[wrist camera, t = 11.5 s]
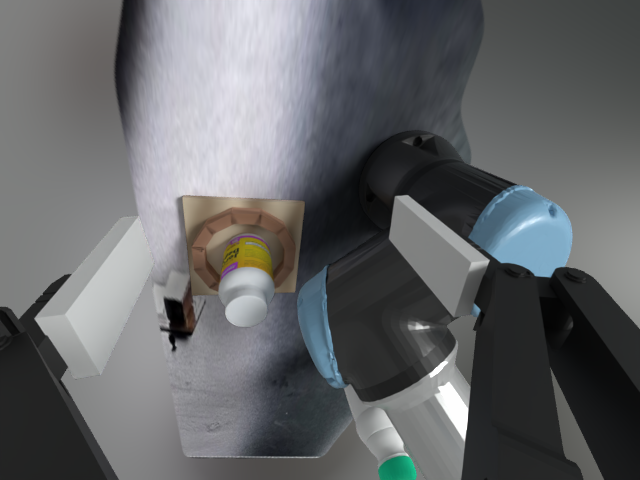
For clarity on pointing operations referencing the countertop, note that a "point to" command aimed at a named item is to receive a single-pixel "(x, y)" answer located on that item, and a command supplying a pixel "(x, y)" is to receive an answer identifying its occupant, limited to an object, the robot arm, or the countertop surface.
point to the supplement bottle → (246, 280)
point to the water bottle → (381, 439)
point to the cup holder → (238, 218)
